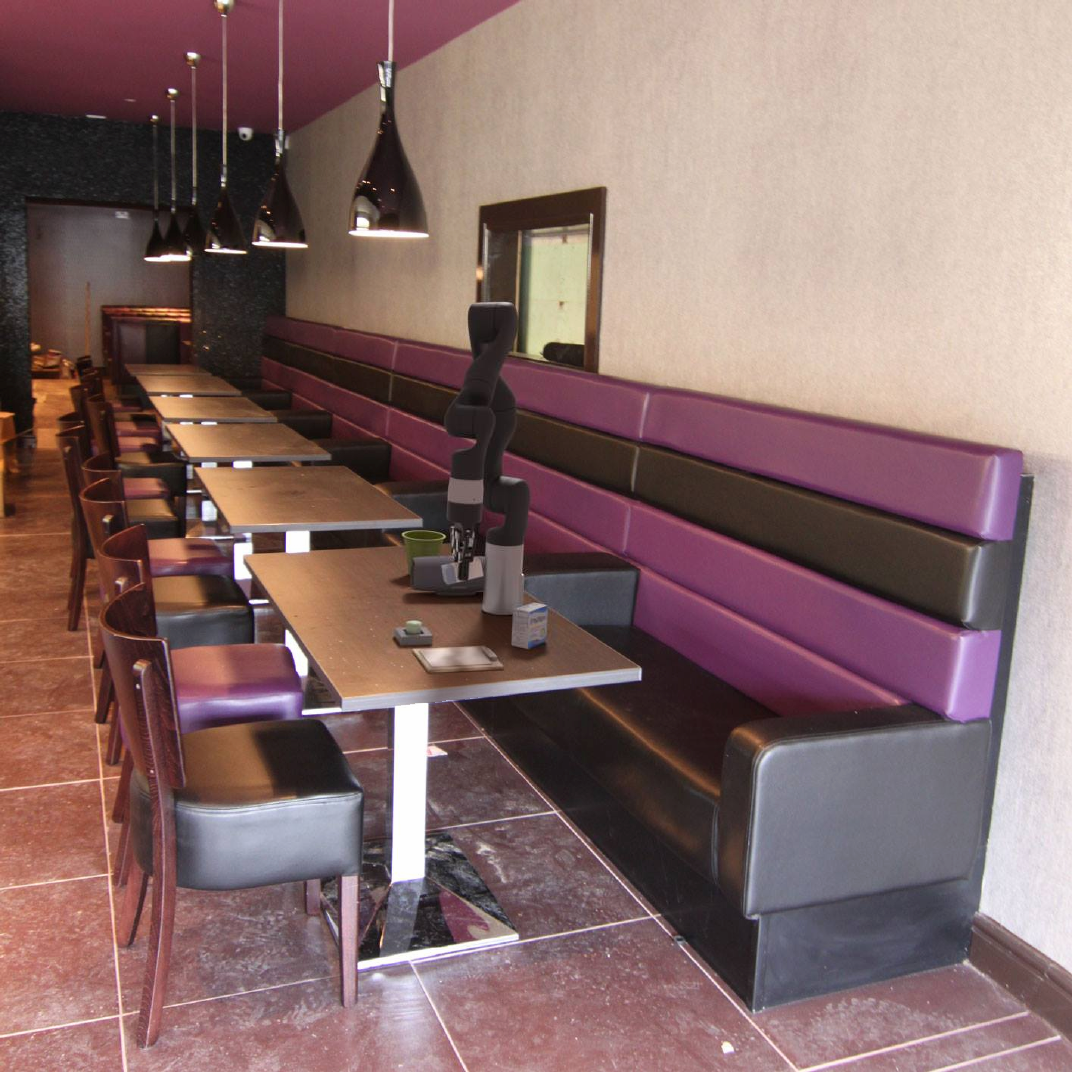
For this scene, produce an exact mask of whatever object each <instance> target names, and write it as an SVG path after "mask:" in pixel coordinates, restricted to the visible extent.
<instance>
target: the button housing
mask: <svg viewBox="0 0 1072 1072" xmlns="http://www.w3.org/2000/svg"><path fill="white" fill-rule="evenodd" d="M393 635H394V636H393V637H394V638H395V639H396V641H397V642H398V643H399V645H400V646H402V647H403V646H426V645H428V646H429V645H433V644H434V643H433V640H434V636H433V634H432V632H430V630H429V629H428V628H427V627H426V626H422V629H421V634H409V635H407V634H406V626H405V627H404V626H403V627H394V633H393Z"/></svg>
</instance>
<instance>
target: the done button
mask: <svg viewBox="0 0 1072 1072" xmlns="http://www.w3.org/2000/svg"><path fill="white" fill-rule="evenodd" d="M422 624H423V623H422V622H421V621H419V620H408V621H406V623H405V627H406V634H407V635H409V634H421V629H422V627H423V625H422Z"/></svg>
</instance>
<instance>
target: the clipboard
mask: <svg viewBox="0 0 1072 1072" xmlns="http://www.w3.org/2000/svg"><path fill="white" fill-rule="evenodd" d="M412 653H413V654H414V655H415V657H416V658H417V659H418V661H419V662H420V663H421V665H422V666H423V668H424V669H425V670H426V672H427V673H428V674H431V673H432V674H435V673H451V672H454V673H455V672H469V671H470V672H474V671H490V670H491V671H492V670H493V671H494V670H504V668H505V667H504V664H502V663H501V662H500V661H499V659H498V656H497V655H496V654H495V653H494V651H492V650H491V648H489V647H486V645H476V646H472V645H471V646H452V647H431V648H429V647H428V648H427V647H426V648H412Z"/></svg>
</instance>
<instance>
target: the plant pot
mask: <svg viewBox="0 0 1072 1072" xmlns="http://www.w3.org/2000/svg"><path fill="white" fill-rule="evenodd" d="M401 536H402V538H403V540H404V541H403V542H404V545H405V551H406V552H405V553H406V561H407V571H408V575H409V576H410V569H411V563H412V558H417V557H432V556H440V553H441V548H442V546H443V542H444V539H446V537H447V536H446V535H445V534H443V533H442V532H437V531H431V530H409V531H404V532H402V533H401Z"/></svg>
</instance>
